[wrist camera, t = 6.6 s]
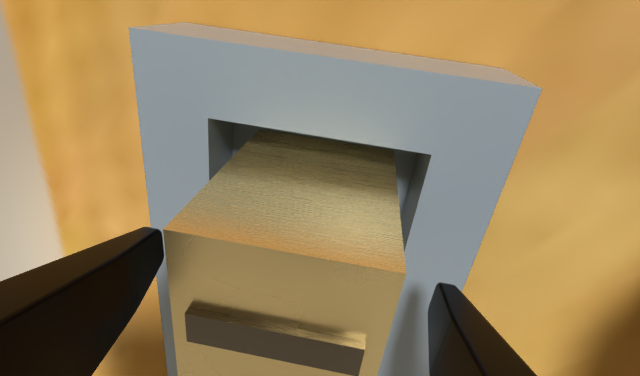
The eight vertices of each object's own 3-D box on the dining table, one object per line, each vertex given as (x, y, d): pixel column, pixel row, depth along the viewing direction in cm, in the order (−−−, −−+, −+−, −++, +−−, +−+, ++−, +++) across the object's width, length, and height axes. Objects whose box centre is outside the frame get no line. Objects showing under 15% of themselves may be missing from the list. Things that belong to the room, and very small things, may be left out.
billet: (393, 150, 12) (407, 281, 6) (369, 260, 14) (362, 432, 8) (258, 129, 12) (156, 235, 6) (254, 239, 14) (174, 391, 8)
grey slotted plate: (185, 21, 12) (128, 27, 9) (503, 68, 11) (542, 88, 8) (203, 423, 22) (179, 481, 19) (369, 461, 21) (368, 526, 18)
